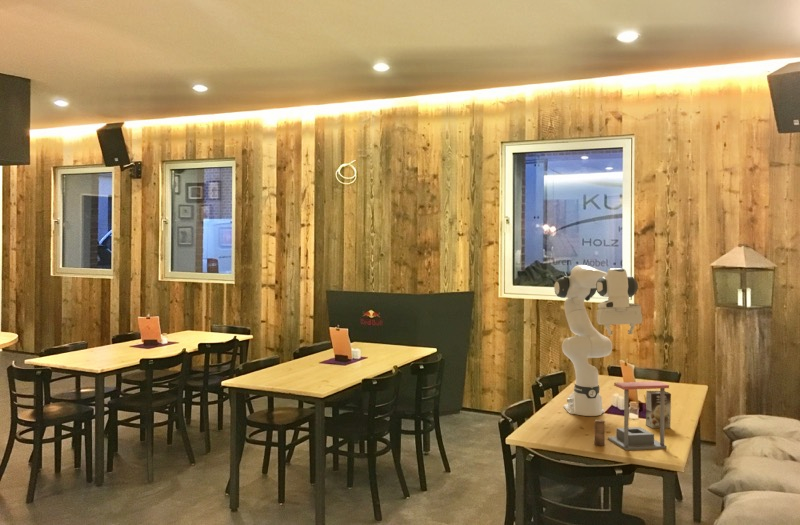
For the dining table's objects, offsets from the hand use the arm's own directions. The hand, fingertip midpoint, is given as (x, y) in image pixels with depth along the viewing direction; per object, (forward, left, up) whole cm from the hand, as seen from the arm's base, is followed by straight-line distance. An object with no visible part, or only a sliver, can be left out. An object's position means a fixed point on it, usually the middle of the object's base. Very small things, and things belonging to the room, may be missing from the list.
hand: (620, 334), depth 275 cm
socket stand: (+15, -1, -44) cm, 47 cm away
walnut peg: (+14, -17, -44) cm, 50 cm away
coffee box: (-8, +23, -45) cm, 51 cm away
